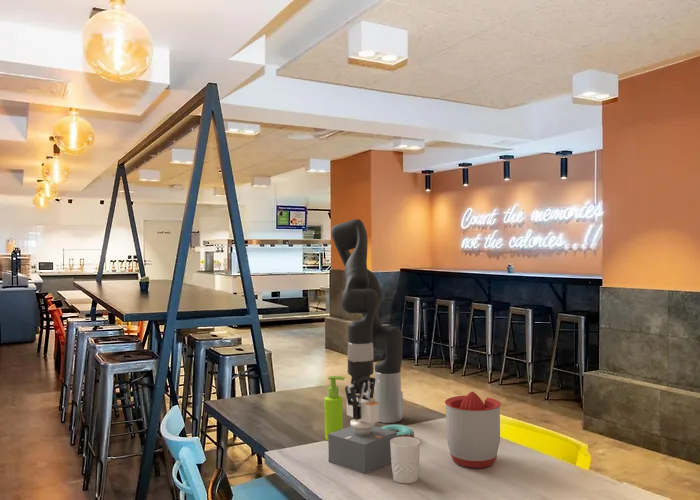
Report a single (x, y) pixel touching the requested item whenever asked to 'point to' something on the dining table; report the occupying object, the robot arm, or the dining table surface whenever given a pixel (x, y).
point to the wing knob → (364, 414)
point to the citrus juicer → (473, 430)
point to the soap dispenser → (333, 408)
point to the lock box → (360, 448)
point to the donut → (400, 430)
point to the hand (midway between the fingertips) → (361, 416)
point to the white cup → (405, 459)
